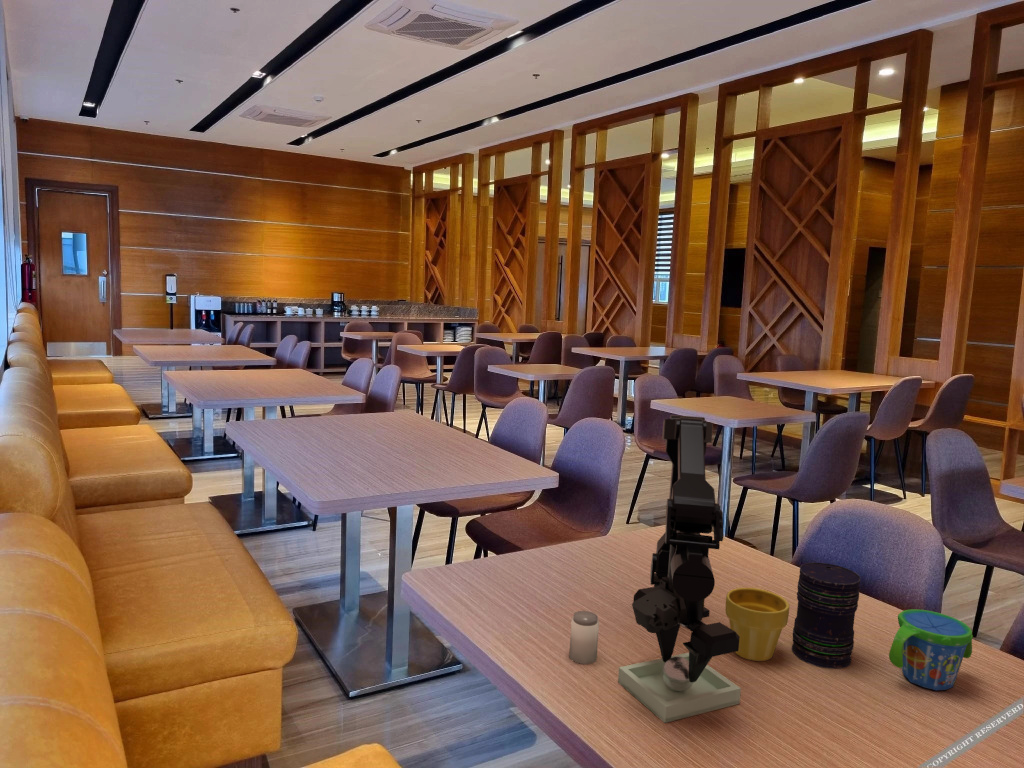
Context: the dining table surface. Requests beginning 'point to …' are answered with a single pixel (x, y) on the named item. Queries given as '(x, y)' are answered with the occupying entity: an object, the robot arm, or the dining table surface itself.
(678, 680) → the ball
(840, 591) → the storage jar
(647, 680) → the tray
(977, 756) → the dining table surface
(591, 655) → the shaker
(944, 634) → the snack cup
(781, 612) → the plant pot
